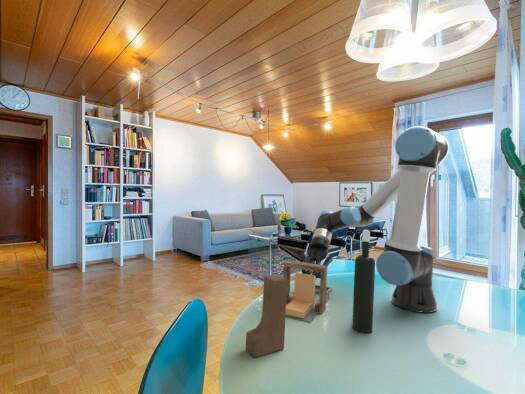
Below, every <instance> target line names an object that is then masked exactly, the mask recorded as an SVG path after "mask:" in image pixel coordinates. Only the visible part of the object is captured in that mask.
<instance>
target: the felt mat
mask: <svg viewBox="0 0 525 394" xmlns="http://www.w3.org/2000/svg"><path fill="white" fill-rule="evenodd" d="M318 314H320V313H319V312H315V308H313V309H312V310H311V311H310V312H309V313H308V314H307V315H306V316H305V317H304V318H299V317H295V316H291V315H285V318H290V319H293V320H297V321H300V322H305V323H308V324H309V323H310V324H311V323H312V321H314V319H315V318H316V317H317V316H318Z"/></svg>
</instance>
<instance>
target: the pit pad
mask: <svg viewBox="0 0 525 394" xmlns="http://www.w3.org/2000/svg"><path fill="white" fill-rule="evenodd" d="M332 290H333V287H330V286H326V293H331V292H333V291H332ZM316 294H318V295H320V284H319V285H318V284H315V295H316Z"/></svg>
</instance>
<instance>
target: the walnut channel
mask: <svg viewBox="0 0 525 394" xmlns="http://www.w3.org/2000/svg"><path fill="white" fill-rule="evenodd" d="M291 269H297V270H299V269H300V270H302V269H304V270H306V271H307V270H311V271H312V272H313V271H317V272H321V277H320V279H319V280H320V283H319V285H320V294H319V300H318V301H317V302H316V303H314V309H315V312H319V313H318V314H321V315H324V313H325V311H326V309H327V308H326V307H327V306H326V305H327V303H328V302H329V300H330V299H331V298H330V293H331V292H330V293H326V287H328V286H327V283H328V282H327V281H328V280H327V278H328V267H327V266H324V265H322V264H321V265H317V264H315V263H314V264H310V263H309V262H306V263H304V262H302V261H297V260H296V261H295V260H291V259H290V260H286V261H284V262H283V276H282V277H284V278H286V279H287V293H286V305H287V304H288V303H290V302H291V301H292V300H293V299H294V292H293V293H292V294H291V293H290V292H291V291H290V290H291V272H292V270H291Z"/></svg>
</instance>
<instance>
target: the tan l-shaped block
mask: <svg viewBox="0 0 525 394" xmlns="http://www.w3.org/2000/svg"><path fill="white" fill-rule="evenodd" d="M316 280H317V279H316V276H314V275H312V274H311V275H308V274H302V272H296V273H295V274H294V291H293V293H294V299H293V300H292V301H291V302H290V303H288V304H287V305H286V315H291V316H295V317H299V318H304V317H305V316H306V315H307V314H308V313H309V312H310V311H311V310H312V309H315V304H316V303H315V301H316V300H315V299H316V298H315V297H316V293H315V285H316Z"/></svg>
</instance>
